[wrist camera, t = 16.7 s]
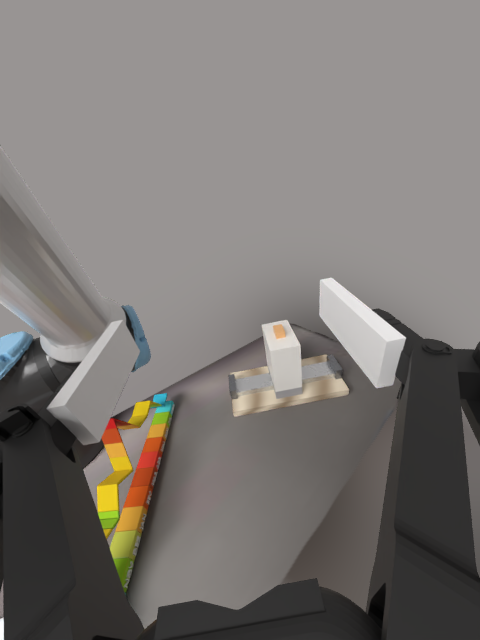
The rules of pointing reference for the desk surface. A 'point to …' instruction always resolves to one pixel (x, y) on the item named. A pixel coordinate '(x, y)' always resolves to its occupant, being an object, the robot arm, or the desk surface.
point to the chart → (141, 485)
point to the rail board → (309, 394)
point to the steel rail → (265, 381)
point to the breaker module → (283, 358)
